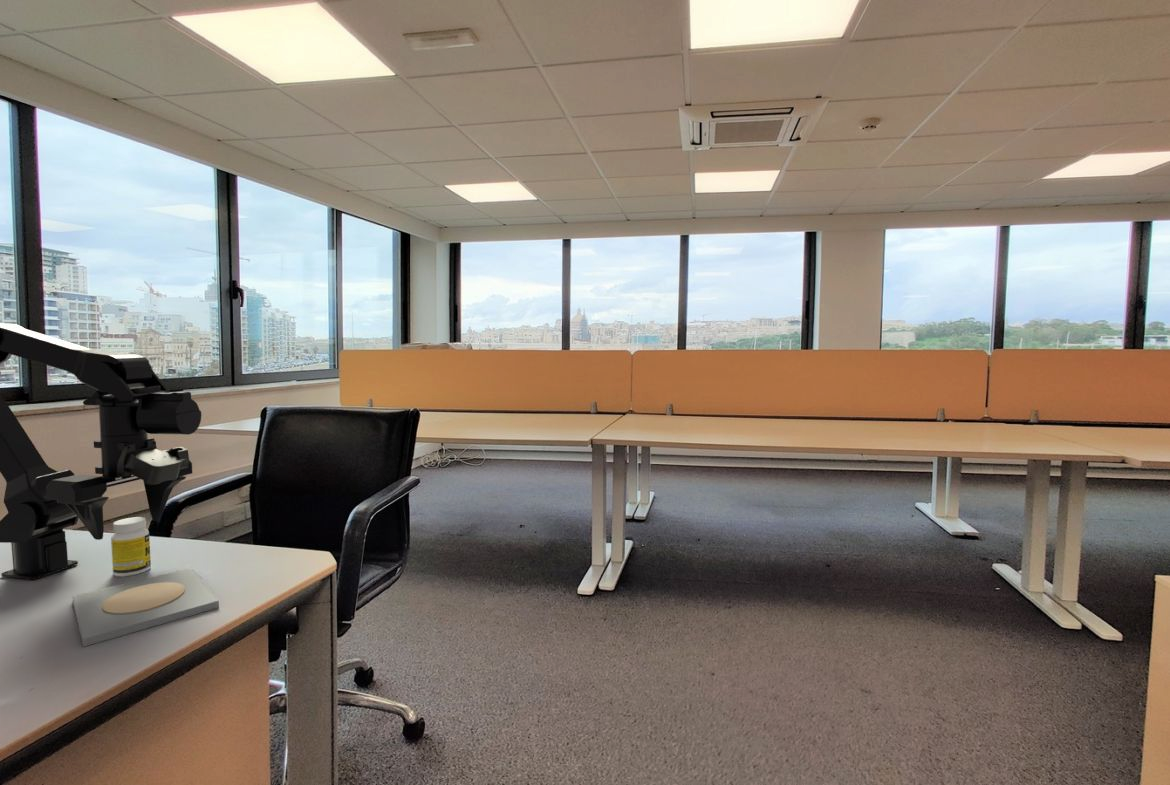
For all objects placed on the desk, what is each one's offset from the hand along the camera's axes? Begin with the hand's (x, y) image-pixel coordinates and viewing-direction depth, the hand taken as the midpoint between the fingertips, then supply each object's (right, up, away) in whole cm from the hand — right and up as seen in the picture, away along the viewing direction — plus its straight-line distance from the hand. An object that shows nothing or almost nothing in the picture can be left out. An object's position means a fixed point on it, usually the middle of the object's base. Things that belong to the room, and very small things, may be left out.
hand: (129, 529), depth 86 cm
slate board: (+11, -8, -10) cm, 17 cm away
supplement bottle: (0, -7, +1) cm, 7 cm away
